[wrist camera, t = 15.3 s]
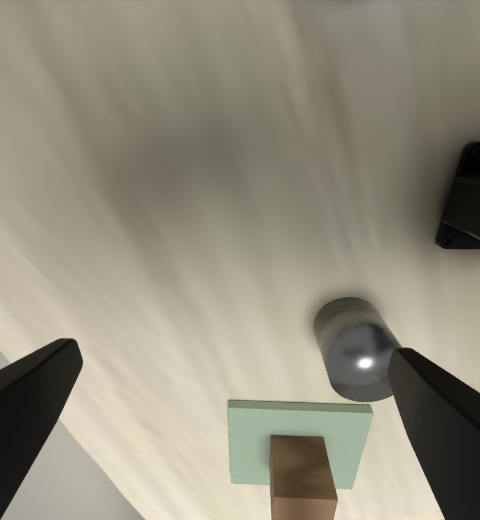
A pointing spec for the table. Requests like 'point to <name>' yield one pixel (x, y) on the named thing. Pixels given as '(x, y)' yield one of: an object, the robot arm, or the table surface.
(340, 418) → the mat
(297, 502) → the walnut block
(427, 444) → the robot arm
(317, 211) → the table surface
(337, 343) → the metal cylinder
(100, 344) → the table surface
